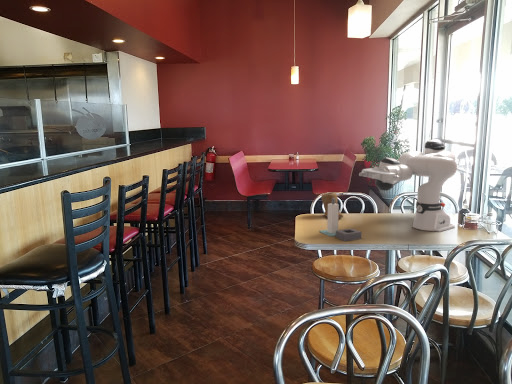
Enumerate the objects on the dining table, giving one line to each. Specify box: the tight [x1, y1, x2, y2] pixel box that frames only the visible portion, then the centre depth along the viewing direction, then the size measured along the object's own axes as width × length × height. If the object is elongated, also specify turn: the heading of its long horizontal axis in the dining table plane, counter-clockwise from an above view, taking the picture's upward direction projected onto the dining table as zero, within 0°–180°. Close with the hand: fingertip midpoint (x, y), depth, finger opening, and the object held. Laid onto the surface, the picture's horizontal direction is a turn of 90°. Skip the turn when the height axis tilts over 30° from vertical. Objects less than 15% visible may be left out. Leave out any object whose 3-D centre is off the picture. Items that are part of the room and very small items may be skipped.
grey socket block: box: [335, 228, 362, 242], centre depth 205 cm, size 10×8×4 cm
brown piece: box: [321, 191, 344, 220], centre depth 248 cm, size 15×12×15 cm
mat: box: [318, 229, 336, 238], centre depth 214 cm, size 10×10×1 cm
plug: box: [326, 198, 340, 233], centre depth 212 cm, size 4×4×18 cm
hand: (365, 175), depth 211 cm, fingers open, 8 cm apart
